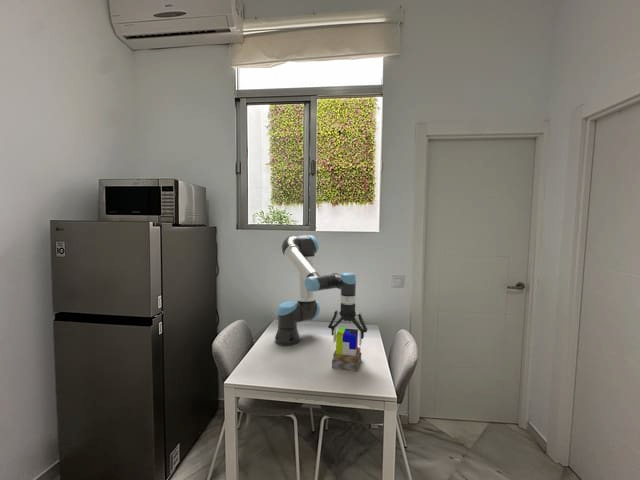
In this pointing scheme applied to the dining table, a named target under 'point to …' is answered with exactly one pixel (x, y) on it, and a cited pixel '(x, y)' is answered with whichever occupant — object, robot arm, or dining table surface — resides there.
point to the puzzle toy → (347, 341)
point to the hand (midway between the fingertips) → (347, 343)
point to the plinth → (348, 367)
